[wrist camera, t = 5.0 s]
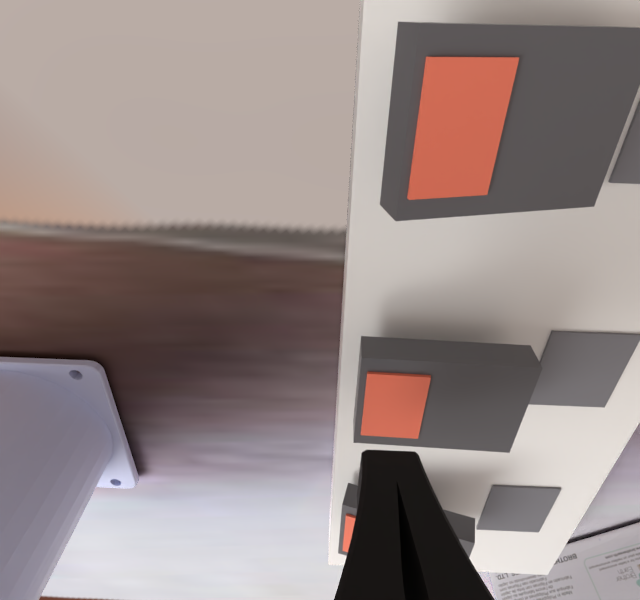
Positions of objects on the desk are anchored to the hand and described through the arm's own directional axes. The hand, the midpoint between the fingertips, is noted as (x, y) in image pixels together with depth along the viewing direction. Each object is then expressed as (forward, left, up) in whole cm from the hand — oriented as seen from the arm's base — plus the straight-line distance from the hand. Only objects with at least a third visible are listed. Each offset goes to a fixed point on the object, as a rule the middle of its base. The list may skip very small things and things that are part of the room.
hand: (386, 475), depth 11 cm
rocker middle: (+2, 0, -3) cm, 4 cm away
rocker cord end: (+2, +8, -3) cm, 9 cm away
